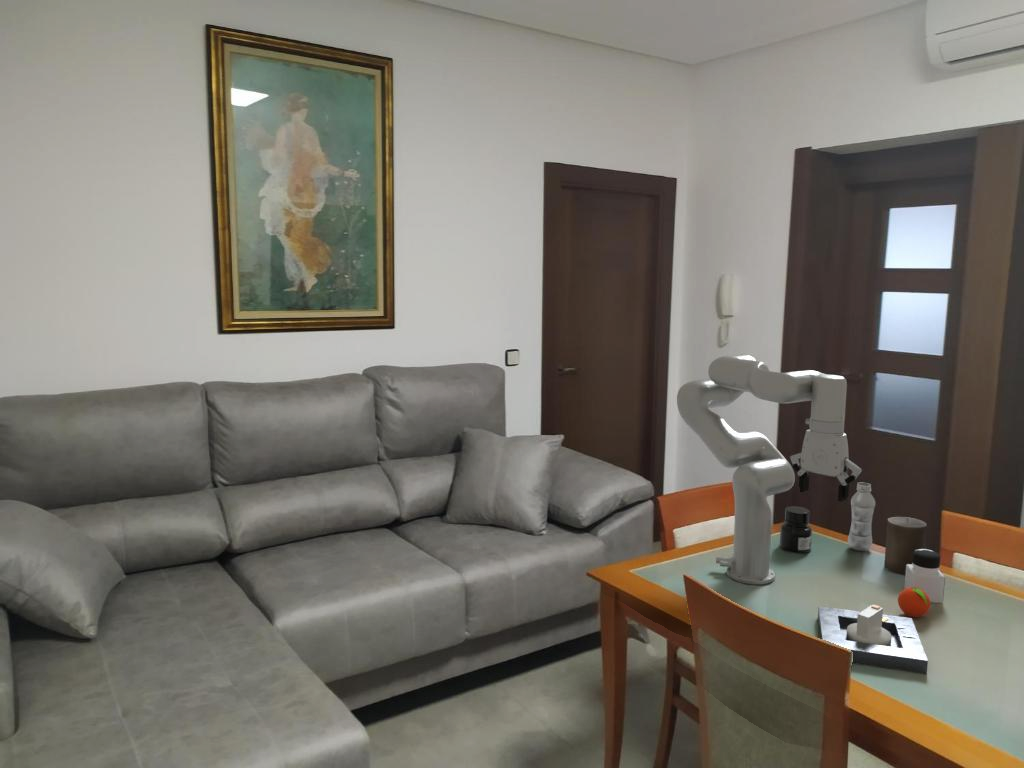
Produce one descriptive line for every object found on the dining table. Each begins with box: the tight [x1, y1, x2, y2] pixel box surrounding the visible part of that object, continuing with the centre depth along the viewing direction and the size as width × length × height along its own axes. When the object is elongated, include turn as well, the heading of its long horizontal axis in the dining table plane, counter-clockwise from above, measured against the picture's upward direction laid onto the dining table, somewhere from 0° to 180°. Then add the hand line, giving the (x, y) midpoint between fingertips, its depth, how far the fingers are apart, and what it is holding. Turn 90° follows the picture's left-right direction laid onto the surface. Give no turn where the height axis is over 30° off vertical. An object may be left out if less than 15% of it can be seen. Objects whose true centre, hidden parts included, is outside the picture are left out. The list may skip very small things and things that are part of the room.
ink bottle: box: [779, 505, 813, 554], centre depth 225 cm, size 10×9×12 cm
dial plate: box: [817, 605, 929, 675], centre depth 169 cm, size 20×20×3 cm
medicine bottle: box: [903, 548, 946, 604], centre depth 192 cm, size 7×7×12 cm
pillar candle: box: [883, 516, 928, 576], centre depth 209 cm, size 10×10×15 cm
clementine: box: [897, 587, 931, 618], centre depth 182 cm, size 8×7×7 cm
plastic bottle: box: [847, 482, 876, 552], centre depth 223 cm, size 6×7×20 cm
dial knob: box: [847, 604, 892, 646], centre depth 168 cm, size 9×9×7 cm
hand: (822, 495), depth 184 cm, fingers open, 9 cm apart
